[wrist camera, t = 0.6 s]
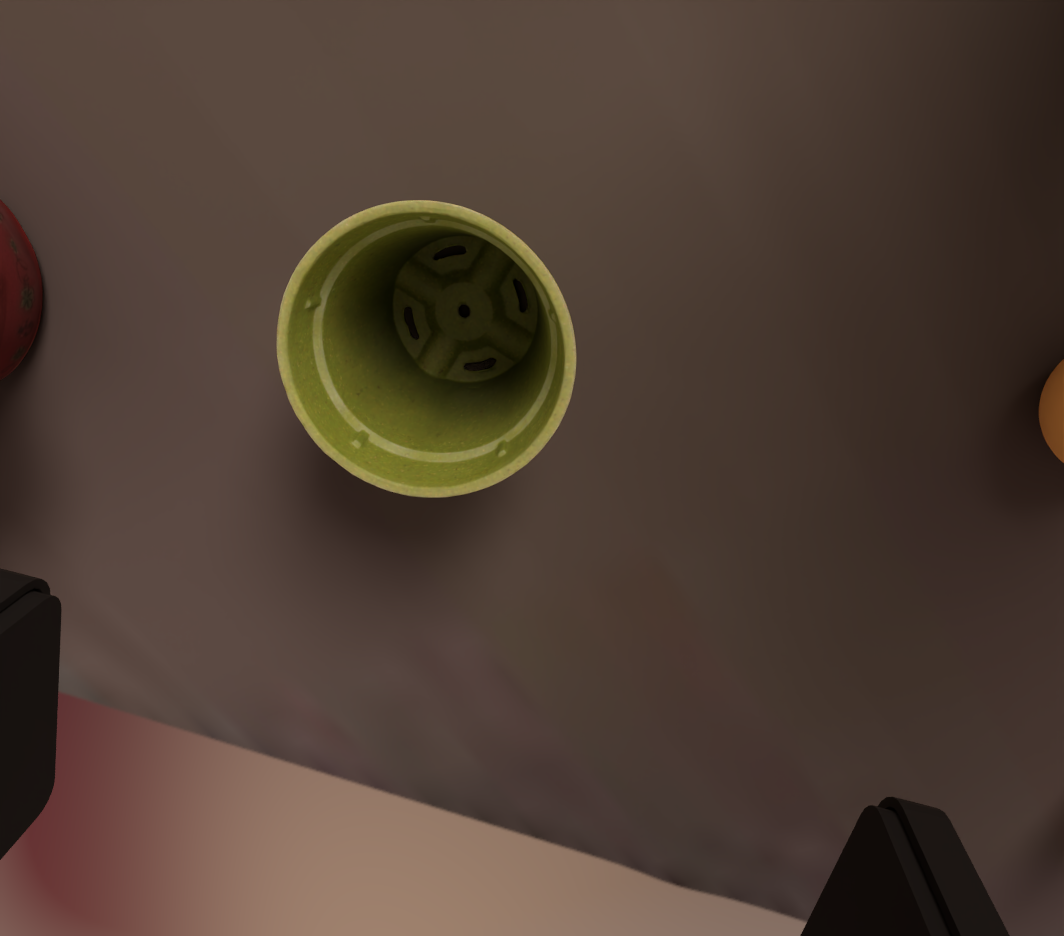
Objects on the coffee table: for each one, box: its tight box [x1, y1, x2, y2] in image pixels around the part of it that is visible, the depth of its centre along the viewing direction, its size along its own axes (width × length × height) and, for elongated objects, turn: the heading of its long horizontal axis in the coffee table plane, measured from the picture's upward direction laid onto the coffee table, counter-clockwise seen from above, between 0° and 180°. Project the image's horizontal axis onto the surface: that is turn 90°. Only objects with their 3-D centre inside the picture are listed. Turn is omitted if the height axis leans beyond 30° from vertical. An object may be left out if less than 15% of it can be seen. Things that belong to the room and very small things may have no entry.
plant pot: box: [277, 200, 576, 498], centre depth 30 cm, size 9×9×9 cm
